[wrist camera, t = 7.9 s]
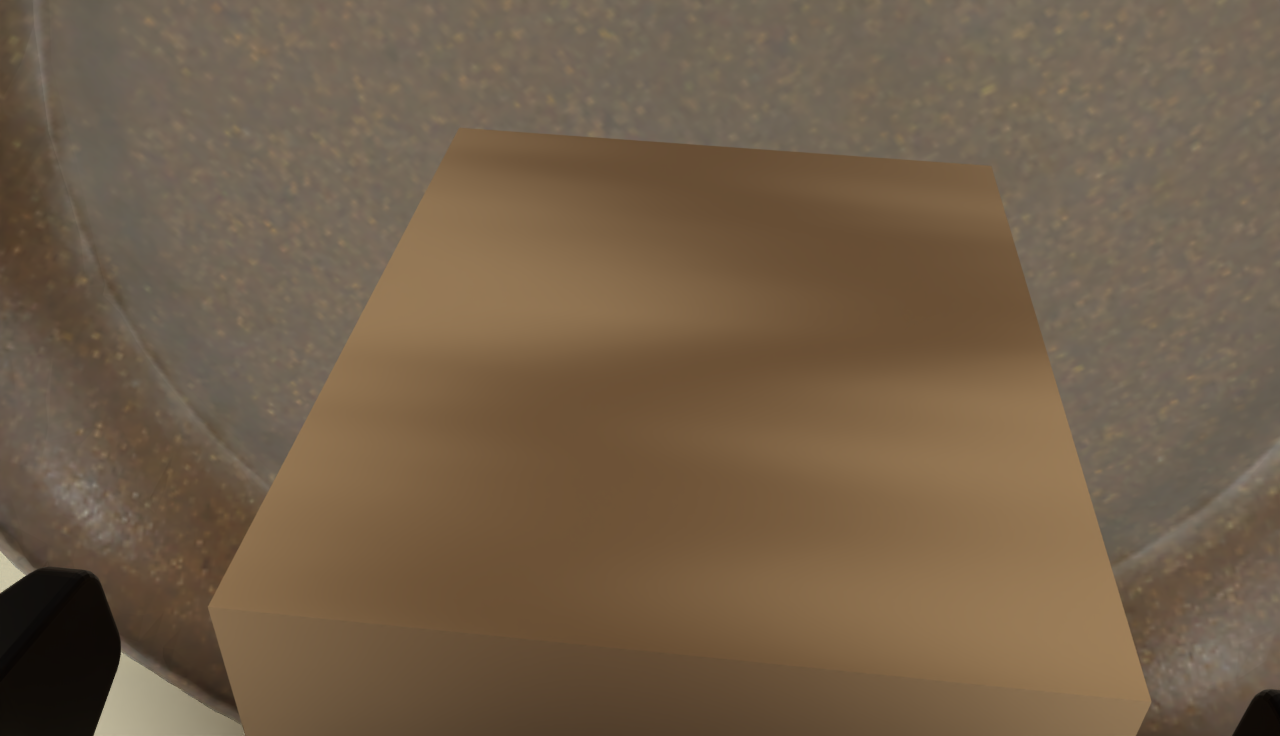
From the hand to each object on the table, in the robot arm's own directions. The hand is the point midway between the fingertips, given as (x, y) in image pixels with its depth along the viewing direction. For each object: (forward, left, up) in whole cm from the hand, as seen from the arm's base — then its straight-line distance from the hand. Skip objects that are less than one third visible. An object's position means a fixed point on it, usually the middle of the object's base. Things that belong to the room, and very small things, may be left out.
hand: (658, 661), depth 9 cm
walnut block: (0, 0, -4) cm, 4 cm away
